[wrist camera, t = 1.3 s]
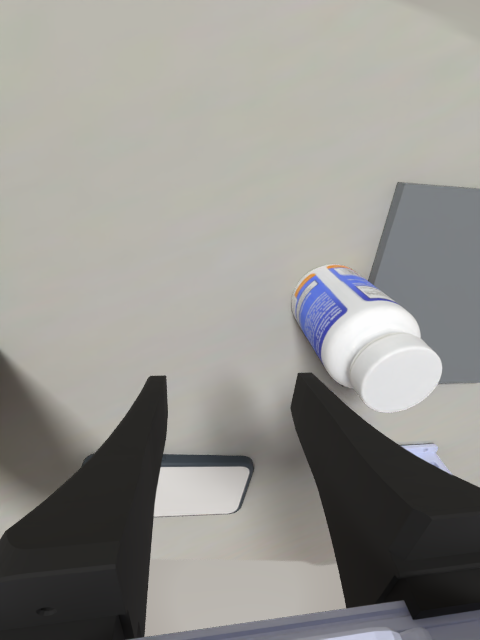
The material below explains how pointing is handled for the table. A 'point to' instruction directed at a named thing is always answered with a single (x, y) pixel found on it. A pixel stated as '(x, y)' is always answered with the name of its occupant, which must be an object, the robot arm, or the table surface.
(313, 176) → the table surface
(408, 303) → the rubber mat
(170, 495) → the smartphone
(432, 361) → the pill bottle
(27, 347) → the table surface
